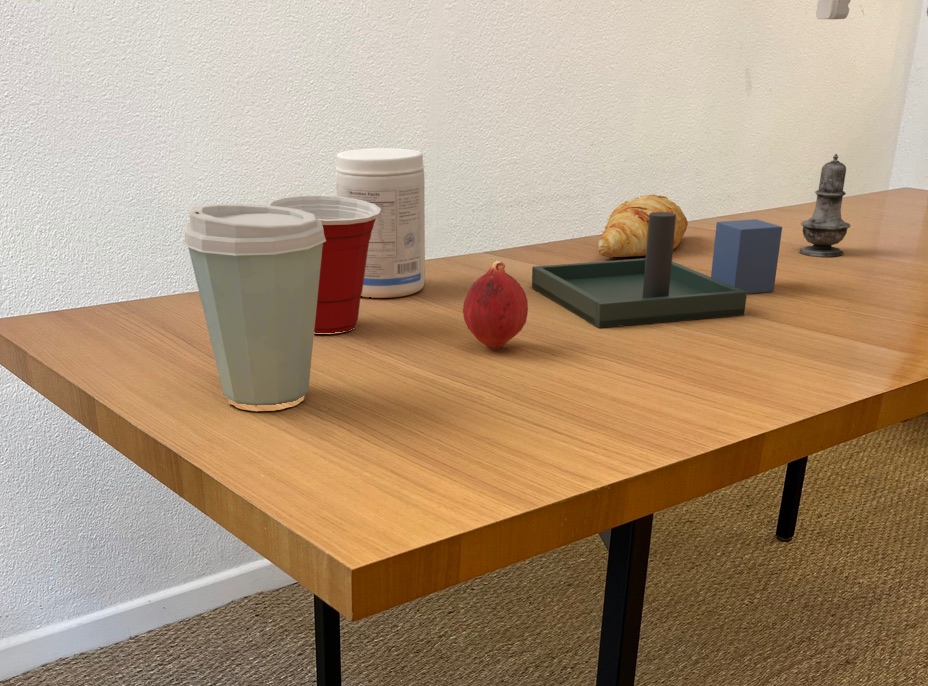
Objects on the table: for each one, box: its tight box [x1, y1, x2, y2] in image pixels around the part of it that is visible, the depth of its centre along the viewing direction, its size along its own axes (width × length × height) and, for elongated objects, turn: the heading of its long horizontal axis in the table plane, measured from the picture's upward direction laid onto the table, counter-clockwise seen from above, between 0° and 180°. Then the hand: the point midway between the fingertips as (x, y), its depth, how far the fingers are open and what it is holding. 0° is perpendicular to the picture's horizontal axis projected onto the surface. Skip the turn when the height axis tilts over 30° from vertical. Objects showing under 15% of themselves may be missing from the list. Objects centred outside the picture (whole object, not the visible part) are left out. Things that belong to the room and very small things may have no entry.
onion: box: [462, 260, 529, 350], centre depth 94 cm, size 6×6×8 cm
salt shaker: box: [799, 153, 851, 258], centre depth 131 cm, size 6×6×12 cm
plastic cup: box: [266, 195, 381, 333], centre depth 101 cm, size 11×11×12 cm
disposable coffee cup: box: [183, 203, 326, 406], centre depth 81 cm, size 11×11×15 cm
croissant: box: [597, 194, 689, 258], centre depth 135 cm, size 21×10×8 cm, turn 142°
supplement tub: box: [335, 147, 426, 299], centre depth 115 cm, size 10×10×15 cm
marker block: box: [710, 218, 783, 295], centre depth 115 cm, size 5×5×7 cm
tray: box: [531, 212, 748, 329], centre depth 110 cm, size 16×18×10 cm
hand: (887, 18), depth 76 cm, fingers open, 8 cm apart
